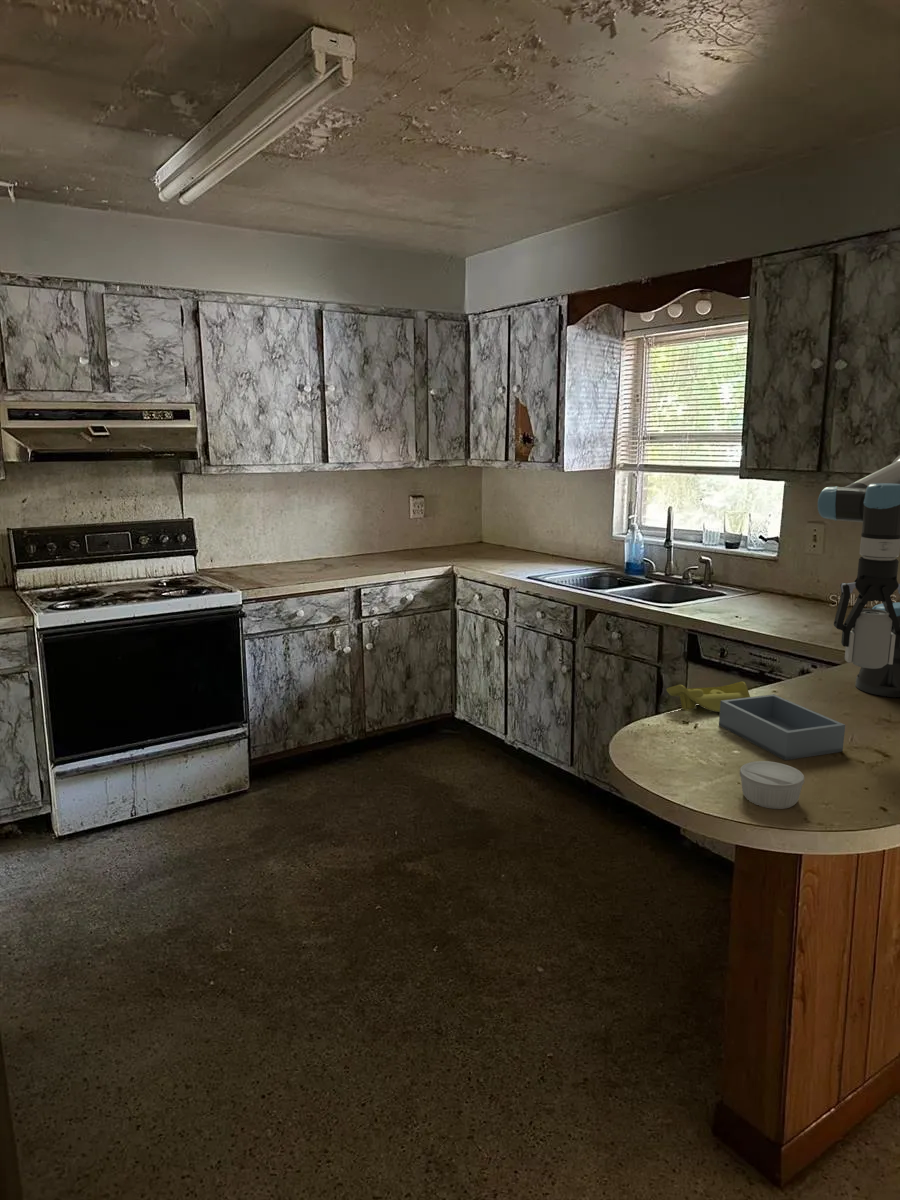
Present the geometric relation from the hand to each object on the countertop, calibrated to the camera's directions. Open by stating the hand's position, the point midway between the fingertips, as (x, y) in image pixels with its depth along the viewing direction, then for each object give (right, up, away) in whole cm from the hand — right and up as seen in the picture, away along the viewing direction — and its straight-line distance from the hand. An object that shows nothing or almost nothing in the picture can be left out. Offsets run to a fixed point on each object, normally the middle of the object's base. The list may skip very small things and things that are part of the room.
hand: (868, 661), depth 182 cm
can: (0, -1, 0) cm, 1 cm away
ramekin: (-31, -24, -26) cm, 47 cm away
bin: (-18, -17, +5) cm, 25 cm away
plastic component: (-27, -13, +26) cm, 40 cm away
